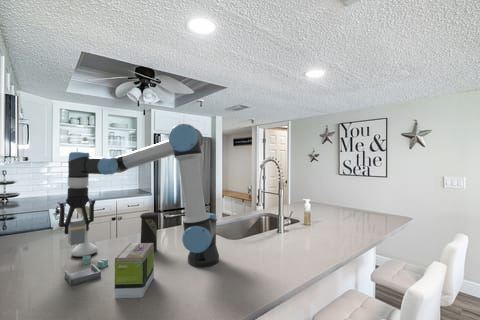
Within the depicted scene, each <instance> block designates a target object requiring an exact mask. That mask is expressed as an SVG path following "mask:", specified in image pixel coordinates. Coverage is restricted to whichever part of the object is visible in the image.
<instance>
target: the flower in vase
mask: <svg viewBox="0 0 480 320" xmlns="http://www.w3.org/2000/svg"><path fill="white" fill-rule="evenodd" d="M85 208H86V212H87V216H88V217H89V205H88V206H87V204H86V205H85ZM75 210H76V211H77V212H76V213H78V214H79V215H81V216H80V218H83V214H82V211H81V208H77V209H75ZM91 227H92V226H91V225H89V230H88V231H86V239H85V243H81V244H77V245H75V247H74V248H73V249H72V250H71V252H70V254H71V256H73V257H84V256H90V255H94V254H95V253H96V252H97V251H98V247H97V246H96V245H95V244H94V243H91V242H90V241H89V239H88V235H89V231H90V229H91Z"/></svg>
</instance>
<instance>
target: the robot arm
mask: <svg viewBox="0 0 480 320" xmlns="http://www.w3.org/2000/svg"><path fill="white" fill-rule="evenodd" d="M203 142H204V137H203V135H202V133H201V132H200V130H199V129H197V128H195V126H193V125H191V124H188V123H179V124H177V125H175V126H173V127H172V128H171V130H170V131H169V135H168V139H167V140H164V141H161V142H158V143H156V144H152V145H150V146H146V147H143V148H140V149H137V150H134V151H131V152H128V153H125V154H121V155H119V156H115V157H110V156H90V153H89V152H86V151H70V153H69V154H68V160H67V163H68V164H67V165H68V166H67V167H68V170H67V172H68V176H67V187H68V188H67V195H66V196H67V198H66V200H65V201H59V202H58V206H59V221H58V222H59V223H58V225H59V226H60V227H64V228H63V229H64V230H63V233H64V234H65V235H66V241H67V243H68V242H70V241H71V226H69V224H70V221H71V219H73V218H72V217H73V215H74V213H75V210H76V209H77V208H81V211H82V214H83V215H82V218H83V219H84V220H85V239H86V231H88V230H89V231H90V229H89V226H90V224H91V223H93V222H94V221H95V213H94V212H95V204H96V200H95V199H93V198H92V199H90V198H89V187H88V186H89V176H90V174H91V175H105V176H106V175H108V176H109V175H114V174H117V173H118V174H120V173H125V172H126V171H128V170H130V169H133V168H136V167H139V166H144V165H145V164H150V163H152V162H156V161H158V160H161V159H165V158H168V157H171V156H173V157H174V159H176V160H177V161H178V166H179V173H180V182H181V188H182V195H183V197H182V198H183V204H184V210H185V211H184V212H185V217H184V218H183V220H182V222H183V223H182V224H183V230H184V231H183V233H182V238H181V239H182V244H183V246H184V248H185V249H186V250H187V251H189V252H188V255H187V263H188V264H189V265H190V266H193V267H197V268H198V267H199V268H207V267H212V266H215V265H217V264H218V263H219V262H220V253H219V250H218V247H217V221H218V220H217V215H216V213H211V212H207V210H206V203H205V197H204V189H203V181H202V174H201V166H200V160H199V159H200V157H201V156H202V145H203ZM87 203H88V204H89V205H88V207H89V216H87V212H86V208H85V205H86V206H87ZM67 205H68V206H69V209H68V212H67V216H66V218H65V214H66V213H65V212H66V211H65V209H66V206H67ZM89 231H88V232H89Z"/></svg>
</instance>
